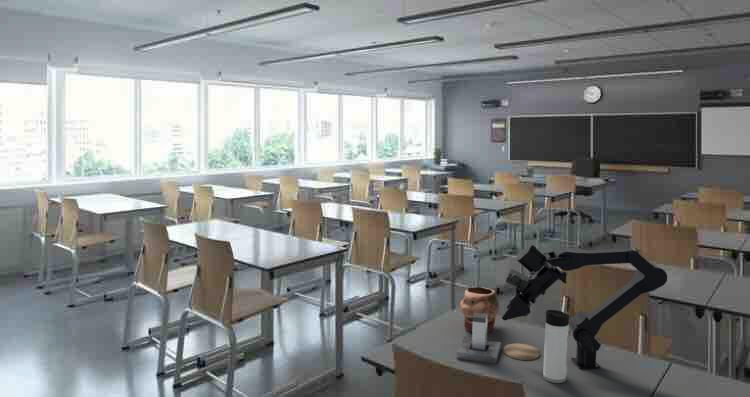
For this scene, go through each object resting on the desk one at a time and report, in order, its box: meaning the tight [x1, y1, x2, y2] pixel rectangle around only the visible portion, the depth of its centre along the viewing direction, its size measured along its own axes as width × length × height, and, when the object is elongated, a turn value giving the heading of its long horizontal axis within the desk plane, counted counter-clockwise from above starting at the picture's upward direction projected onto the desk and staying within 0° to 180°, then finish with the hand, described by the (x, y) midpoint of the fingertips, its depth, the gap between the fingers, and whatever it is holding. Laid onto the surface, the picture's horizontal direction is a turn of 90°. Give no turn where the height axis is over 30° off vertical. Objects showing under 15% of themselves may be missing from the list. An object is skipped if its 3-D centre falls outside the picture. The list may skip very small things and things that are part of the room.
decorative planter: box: [459, 286, 500, 333], centre depth 191 cm, size 20×12×14 cm, turn 142°
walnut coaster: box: [503, 342, 541, 361], centre depth 171 cm, size 11×11×1 cm
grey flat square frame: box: [456, 337, 502, 365], centre depth 171 cm, size 12×12×2 cm
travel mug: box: [542, 309, 570, 384], centre depth 153 cm, size 6×7×20 cm
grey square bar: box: [471, 313, 488, 352], centre depth 170 cm, size 4×4×12 cm
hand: (505, 313), depth 167 cm, fingers open, 9 cm apart
